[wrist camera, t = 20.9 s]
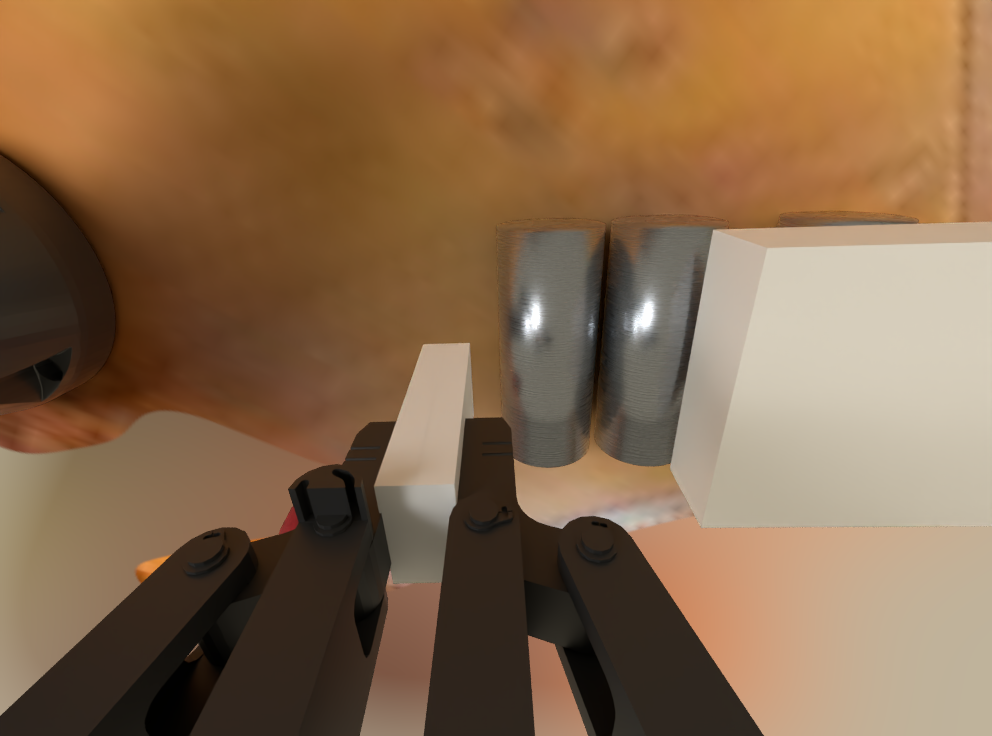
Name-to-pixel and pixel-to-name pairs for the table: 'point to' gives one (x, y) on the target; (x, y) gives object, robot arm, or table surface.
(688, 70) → the table surface
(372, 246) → the table surface
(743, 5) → the table surface
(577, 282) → the cylinder
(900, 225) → the slab
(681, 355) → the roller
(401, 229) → the table surface
